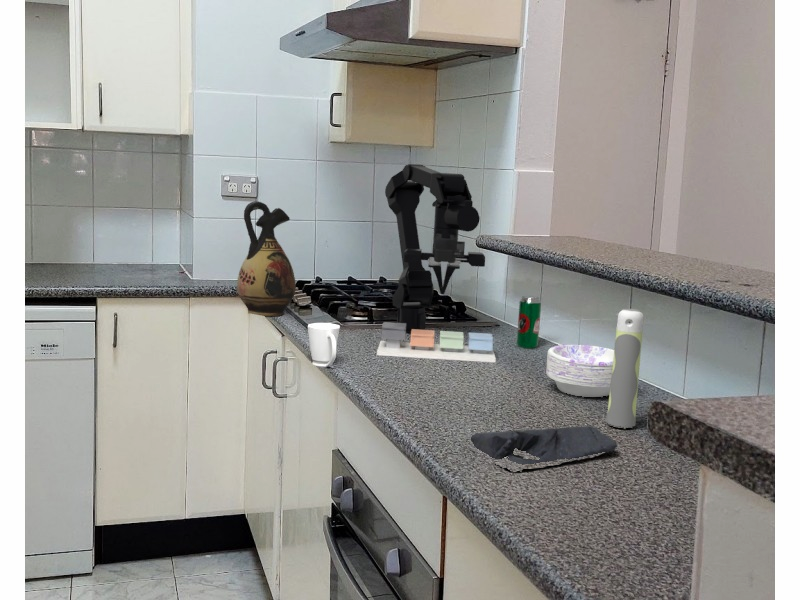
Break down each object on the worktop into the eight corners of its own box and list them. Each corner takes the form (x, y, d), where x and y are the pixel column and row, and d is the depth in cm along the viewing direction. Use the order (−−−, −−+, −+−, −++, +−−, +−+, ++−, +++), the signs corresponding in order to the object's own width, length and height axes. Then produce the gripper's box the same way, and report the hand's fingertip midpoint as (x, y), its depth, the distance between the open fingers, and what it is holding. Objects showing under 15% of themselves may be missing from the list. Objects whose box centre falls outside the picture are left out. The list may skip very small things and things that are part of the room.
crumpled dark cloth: (631, 463, 130) (634, 433, 130) (503, 478, 122) (506, 445, 121) (572, 432, 144) (574, 405, 144) (453, 443, 135) (455, 414, 135)
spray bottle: (603, 427, 146) (614, 310, 143) (607, 420, 151) (618, 306, 148) (633, 432, 145) (645, 313, 142) (636, 424, 149) (647, 309, 146)
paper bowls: (576, 405, 160) (579, 363, 158) (529, 384, 173) (532, 345, 172) (641, 399, 166) (645, 359, 165) (591, 380, 180) (595, 342, 178)
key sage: (439, 347, 195) (440, 335, 194) (439, 342, 200) (440, 330, 199) (462, 348, 194) (463, 336, 194) (462, 344, 199) (463, 332, 199)
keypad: (376, 355, 192) (377, 338, 191) (380, 344, 204) (381, 328, 203) (495, 362, 191) (496, 345, 190) (492, 350, 203) (493, 334, 202)
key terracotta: (410, 345, 195) (410, 333, 194) (411, 341, 200) (411, 329, 199) (433, 347, 195) (434, 334, 194) (433, 342, 200) (434, 330, 199)
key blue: (468, 349, 194) (469, 336, 194) (467, 344, 199) (468, 332, 199) (492, 350, 194) (493, 338, 194) (490, 345, 199) (491, 333, 199)
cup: (332, 359, 186) (333, 322, 185) (349, 370, 177) (351, 331, 176) (300, 361, 183) (302, 323, 182) (317, 372, 174) (318, 332, 173)
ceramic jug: (284, 308, 246) (287, 200, 241) (302, 318, 232) (306, 204, 227) (224, 309, 238) (226, 199, 234) (239, 319, 224) (242, 202, 220)
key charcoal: (381, 338, 195) (382, 326, 194) (382, 334, 200) (383, 322, 200) (404, 339, 195) (405, 327, 194) (405, 335, 200) (406, 323, 199)
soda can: (537, 349, 207) (541, 299, 205) (515, 347, 208) (519, 298, 206) (538, 345, 212) (541, 296, 210) (517, 343, 213) (520, 295, 211)
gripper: (404, 227, 196) (401, 296, 198) (488, 232, 195) (483, 301, 197) (406, 224, 207) (403, 289, 209) (485, 229, 206) (481, 294, 208)
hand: (442, 294), depth 206 cm, fingers closed
